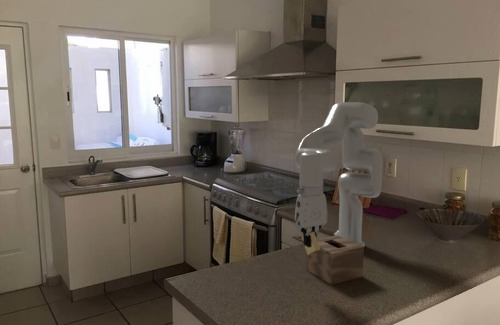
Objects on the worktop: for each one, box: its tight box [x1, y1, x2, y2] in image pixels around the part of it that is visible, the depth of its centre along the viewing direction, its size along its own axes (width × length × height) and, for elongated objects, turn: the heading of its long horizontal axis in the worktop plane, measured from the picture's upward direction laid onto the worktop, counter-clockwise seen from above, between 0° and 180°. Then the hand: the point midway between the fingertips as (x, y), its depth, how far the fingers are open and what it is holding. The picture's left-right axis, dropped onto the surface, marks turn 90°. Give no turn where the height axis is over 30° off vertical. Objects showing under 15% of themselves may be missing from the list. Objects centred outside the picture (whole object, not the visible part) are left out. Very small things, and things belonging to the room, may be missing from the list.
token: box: [301, 231, 321, 255], centre depth 136 cm, size 5×2×6 cm
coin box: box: [306, 235, 365, 286], centre depth 149 cm, size 14×14×11 cm
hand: (309, 245), depth 137 cm, fingers closed on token, 1 cm apart
